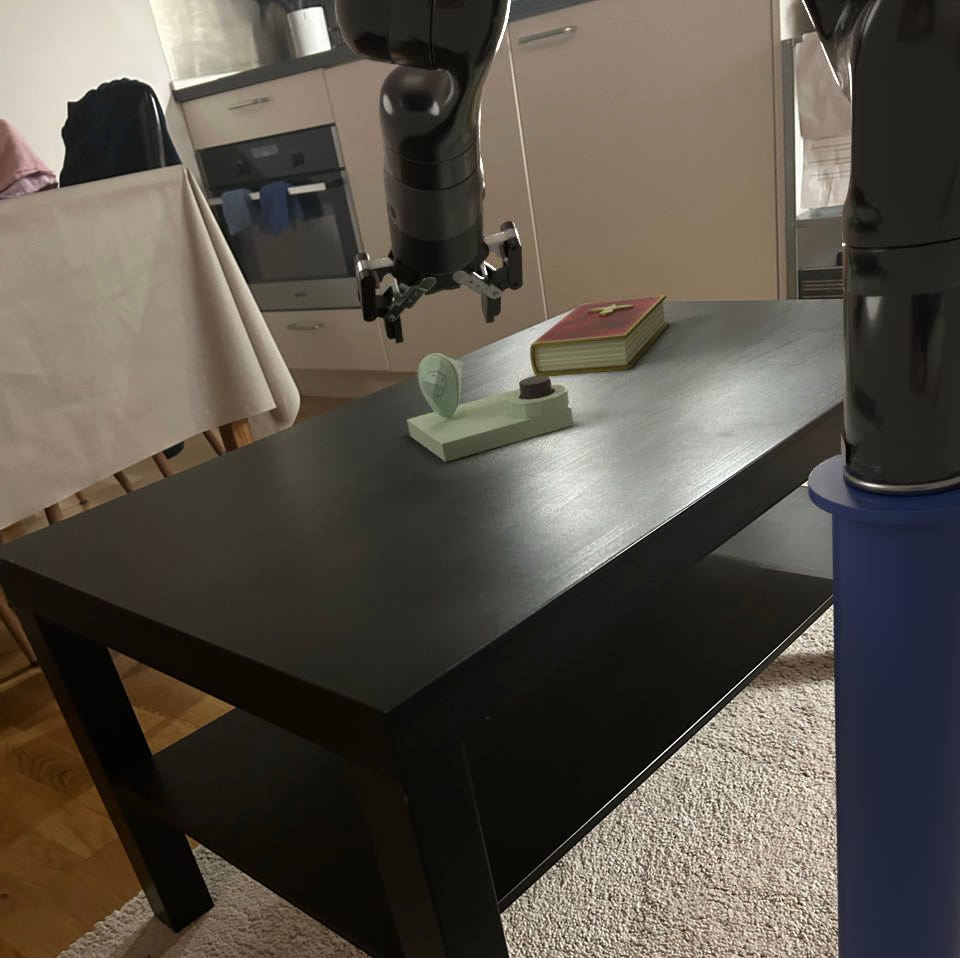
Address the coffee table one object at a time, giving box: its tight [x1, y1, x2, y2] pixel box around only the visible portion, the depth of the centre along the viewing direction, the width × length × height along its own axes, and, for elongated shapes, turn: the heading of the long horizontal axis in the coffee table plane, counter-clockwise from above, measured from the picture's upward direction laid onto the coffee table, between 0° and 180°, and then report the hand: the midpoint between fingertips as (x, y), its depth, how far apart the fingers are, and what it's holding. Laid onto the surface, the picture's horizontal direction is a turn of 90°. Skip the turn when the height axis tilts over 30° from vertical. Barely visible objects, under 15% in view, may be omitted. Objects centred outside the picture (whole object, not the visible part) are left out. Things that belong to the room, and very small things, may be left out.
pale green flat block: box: [406, 384, 574, 463], centre depth 105 cm, size 14×12×4 cm
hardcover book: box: [529, 294, 669, 377], centre depth 128 cm, size 12×21×4 cm, turn 158°
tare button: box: [518, 375, 553, 399], centre depth 102 cm, size 3×3×2 cm
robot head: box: [417, 352, 464, 418], centre depth 105 cm, size 8×4×7 cm, turn 160°
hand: (442, 325), depth 93 cm, fingers open, 8 cm apart
